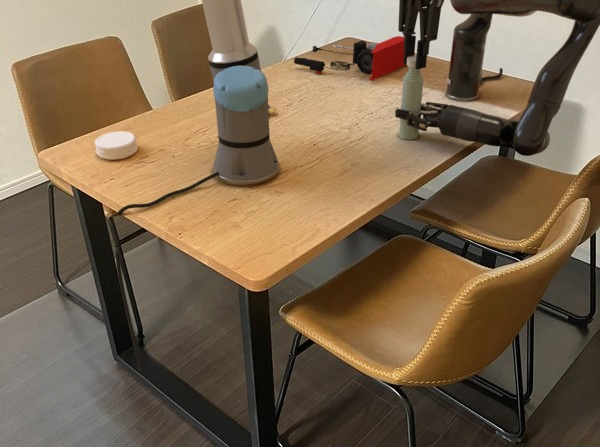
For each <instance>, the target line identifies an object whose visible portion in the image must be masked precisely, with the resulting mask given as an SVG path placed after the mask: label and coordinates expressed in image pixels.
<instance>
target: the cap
mask: <svg viewBox="0 0 600 447" xmlns="http://www.w3.org/2000/svg"><path fill="white" fill-rule="evenodd" d="M406 66H407V67H408V68H409V67H414V68H415V66H416V55H414V56H409V57H407V65H406Z"/></svg>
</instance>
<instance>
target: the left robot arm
mask: <svg viewBox="0 0 600 447" xmlns="http://www.w3.org/2000/svg"><path fill="white" fill-rule="evenodd" d="M201 3H202V8H203V12H204V16H205V21H206V26H207V30H208V33H209V39H210V43H211V48H212V50H211V52H210V53H209V55H208V56H207V59H208V64H209V69H210V72H211V77H212V81H213V82H212V83H213V87H212V92H213V97H214V103H215V105H214V106H215V115H216V126H217V135H218V145H217V149H216V153H215V159H214V162H213V167H212V168H213V173H212V174H210V175H208V176H206V177H204V178H202V179H200V180H198V181H196V182H195V183H193V184H191V185H188V186H186V187H184V188H180V189H177V190H174V191H171V192H169V193H166V194H164V195H162V196H161V197H158V198H156V199H155V200H153V201H150V202H147V203H131V204H127V205H124V206H122V207H121V208H120V209H119V210H118V211H117V213H116V214H115V216H122V214H123V213H124V212H125V211H127V210H130V209H139V208H140V209H141V208H143V209H144V208H149V207H153V206H155V205H157V204H159V203H161V202H163V201H165V200H166V199H168V198H170V197H173V196H177V195H180V194H183V193H185V192H188V191H191V190H193V189H195V188H196V187H197V188H198V187H199V186H200V185H202V184H204V183H206V182H208V181H210V180H211V179H214V178H215V179H217V181H219V182H220V183H223V184H225V185H228V186H229V185H230V186H234V187H251V186H252V187H253V186H257V185H261V184H265V183H267V182H269V181H271V180H273V179H274V178H275V177H276V176H277V175H278V174H279V171H280V166H279V164H280V163H279V160H278V156H277V154H276V151H275V149H274V146H273V144H272V142H271V138H270V136H271V135H270V134H271V133H270V117H269V116H270V114H269V112H268V105H269V84H268V80H267V79H268V78H267V76H266V75H265V73H264V72H263V71H262V69H261V64H260V58H259V57H260V56H259V53H258V48H257V47H256V46H255V45H254V44H252V43H251V42H250V40H249V35H248V29H247V23H246V19H245V18H246V17H245V14H244V9H243V4H242V0H201ZM444 3H445V0H399V2H398V26H397V30H398V32H399V33H402V37H404V46H403V47H404V61H403V64H407V57H409V56H416V66H415V69H420V70H423V69H425V68H427V60H428V55H429V53H430V46H431V44H430V43H431V42H432V41H437V40H438V34H439V28H440V20H441V13H442V8H443V5H444ZM418 16H419V39H418V40H417V36H416V34H417V32H416V31H415V30H416V25H417V20H418ZM416 40H417V41H416ZM416 42H417V45H416ZM415 53H416V55H415ZM114 252H115V262H116V270H117V277H118V283H119V288H120V294H121V298H122V302H123V307H124V312H125V316H126V319H127V323H128V328H129V332H130V335H131V341H132V344H133V349H134V353H135V358H136V359H135V360H136V364H137V369H138V372H139V373H142V372H143V367H142V361H141V357H140V351H139V347H138V343H137V339H136V333H135V330H134V325H133V321H132V316H131V312H130V309H129V308H130V307H129V303H128V299H127V296H126V295H127V294H126V290H125V284H124V279H123V273H122V267H121V266H122V265H121V258H120V257H121V256H120V254H119V253H118V251H116V250H115V251H114Z"/></svg>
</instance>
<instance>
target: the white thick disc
mask: <svg viewBox="0 0 600 447" xmlns="http://www.w3.org/2000/svg"><path fill="white" fill-rule="evenodd" d="M94 146H95V152H96V155H97V156H98V157H100V158H101V159H104V160H110V161H111V160H114V161H115V160H116V161H117V160H122V159H126V158H128V157H130V156H133V155H134V154H135V153H136V152H137V151H138V147H139V146H138V141H137V137H136V135H135V134H133V133H132V132H129V131H124V130H123V131H121V130H119V131H110V132H107V133H103V134H102V135H99V136H98V137H97V138H96V139H95V140H94Z"/></svg>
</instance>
